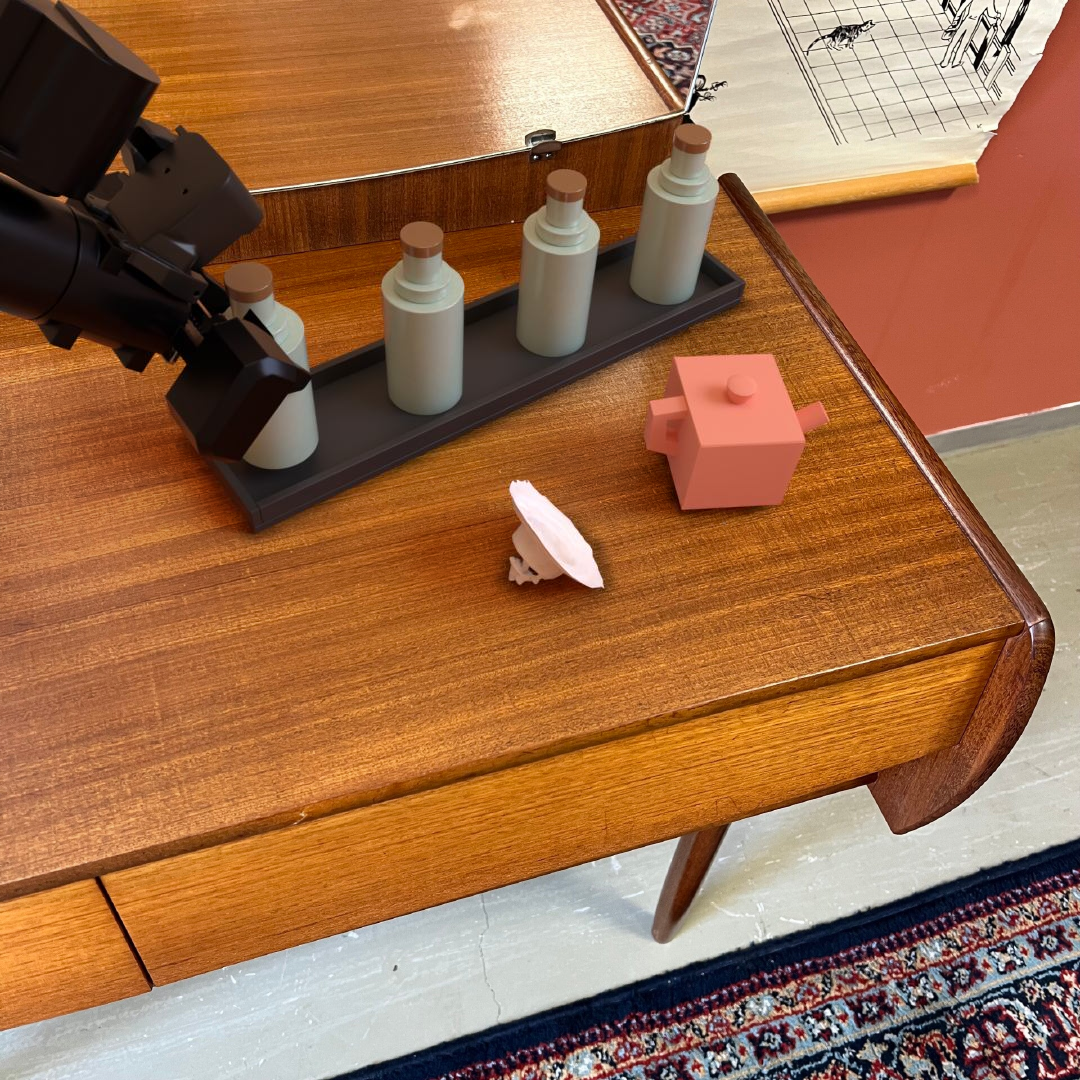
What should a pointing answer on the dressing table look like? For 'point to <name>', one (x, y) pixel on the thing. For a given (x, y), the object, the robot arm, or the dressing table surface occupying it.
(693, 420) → the pink cube teapot
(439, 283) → the bottle near
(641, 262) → the bottle far
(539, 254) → the bottle middle
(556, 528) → the pale pink ornate lid
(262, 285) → the bottle
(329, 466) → the tray
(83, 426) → the dressing table surface
